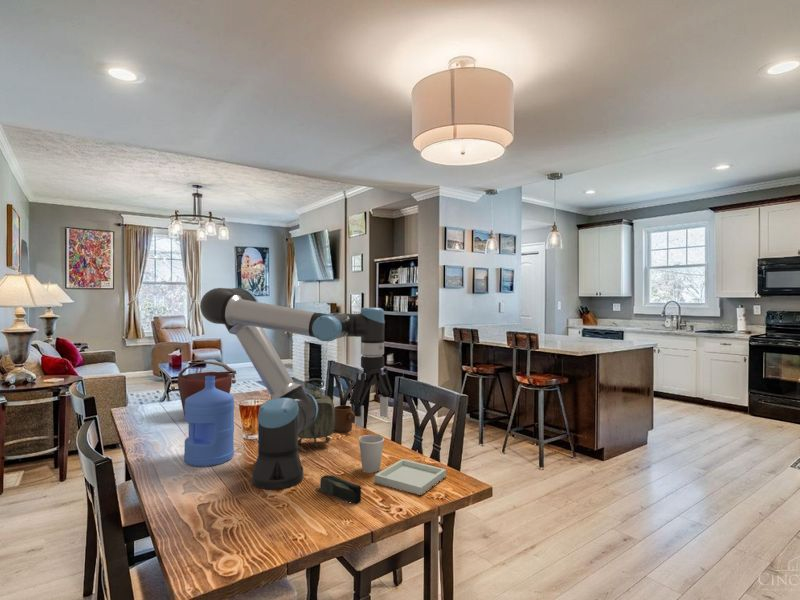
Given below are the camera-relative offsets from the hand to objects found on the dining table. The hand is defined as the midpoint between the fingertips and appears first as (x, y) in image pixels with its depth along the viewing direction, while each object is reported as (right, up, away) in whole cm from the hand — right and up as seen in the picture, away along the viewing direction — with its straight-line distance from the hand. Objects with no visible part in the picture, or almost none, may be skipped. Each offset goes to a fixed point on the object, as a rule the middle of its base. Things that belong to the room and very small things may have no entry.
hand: (372, 421), depth 145 cm
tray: (+12, -16, -8) cm, 22 cm away
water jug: (-56, -15, +8) cm, 58 cm away
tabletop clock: (-23, -15, +23) cm, 36 cm away
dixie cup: (0, -16, 0) cm, 16 cm away
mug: (-13, -15, +40) cm, 45 cm away
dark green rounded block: (-8, -16, -19) cm, 27 cm away
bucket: (-79, -14, +59) cm, 100 cm away
